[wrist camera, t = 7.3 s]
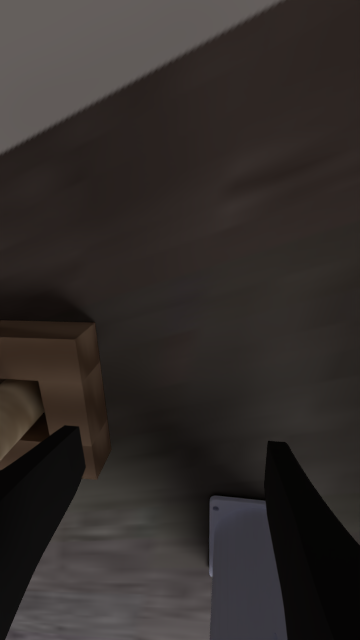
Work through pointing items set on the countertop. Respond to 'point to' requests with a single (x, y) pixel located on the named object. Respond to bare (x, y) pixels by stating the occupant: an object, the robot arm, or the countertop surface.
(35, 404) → the beech peg
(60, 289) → the countertop surface
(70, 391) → the walnut socket block
